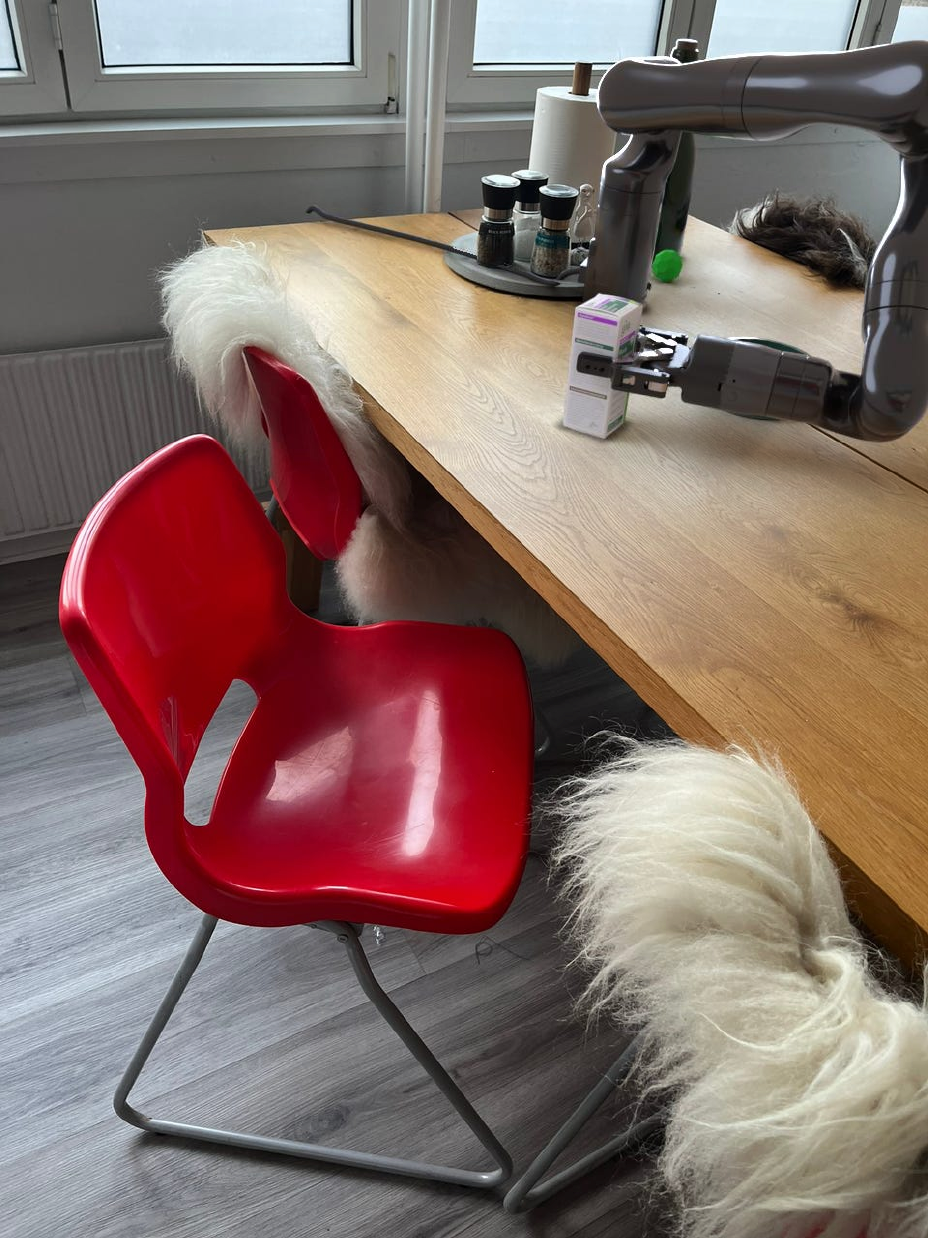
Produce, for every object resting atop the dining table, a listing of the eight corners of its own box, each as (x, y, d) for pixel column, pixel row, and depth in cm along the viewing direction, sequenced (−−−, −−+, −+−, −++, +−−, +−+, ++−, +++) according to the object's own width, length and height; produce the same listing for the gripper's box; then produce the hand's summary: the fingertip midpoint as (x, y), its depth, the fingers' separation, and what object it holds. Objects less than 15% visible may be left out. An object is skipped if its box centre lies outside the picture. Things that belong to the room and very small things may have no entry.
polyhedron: (684, 280, 158) (690, 250, 155) (673, 287, 155) (678, 257, 152) (656, 273, 160) (661, 244, 157) (645, 280, 157) (650, 251, 154)
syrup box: (605, 440, 109) (624, 316, 100) (559, 426, 111) (575, 303, 102) (625, 423, 113) (646, 302, 104) (581, 409, 115) (598, 290, 106)
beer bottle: (644, 264, 163) (681, 43, 143) (610, 247, 171) (641, 34, 151) (692, 259, 167) (735, 43, 147) (657, 242, 175) (693, 34, 155)
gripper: (746, 321, 106) (605, 296, 110) (730, 366, 96) (575, 337, 99) (731, 383, 111) (596, 358, 115) (714, 433, 100) (566, 403, 104)
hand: (586, 348), depth 107 cm, fingers open, 7 cm apart
